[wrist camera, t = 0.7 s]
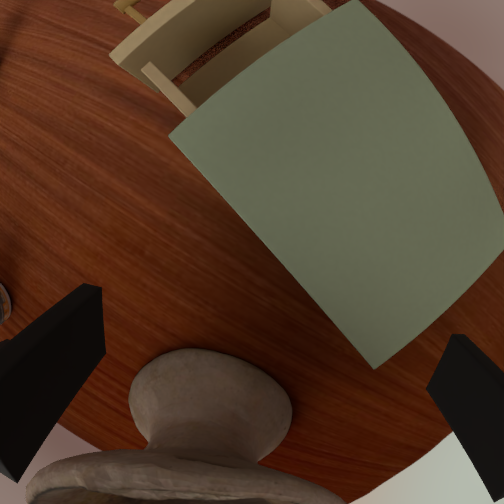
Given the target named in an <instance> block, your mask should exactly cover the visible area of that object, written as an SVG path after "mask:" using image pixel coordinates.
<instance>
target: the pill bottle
mask: <svg viewBox="0 0 504 504" xmlns="http://www.w3.org/2000/svg"><path fill="white" fill-rule="evenodd" d="M10 313H11V302H10V298H9V295H8V293H7V291H6V290H5V288H4V287H3V285H2V284H1V283H0V324H2V323H3V322H4V321H5V320H7V319H8V318H9V316H10Z"/></svg>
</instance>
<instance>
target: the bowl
mask: <svg viewBox="0 0 504 504" xmlns="http://www.w3.org/2000/svg"><path fill="white" fill-rule="evenodd" d="M129 406H130V410H131V414H132V416H133V419H134V421H135V424H136V426H137V428H138V429H139V431H140V432H141V433H142V435H143V436H144V437H145V438H146V439H147V441H148V442H149V443H148V445H147V447H146V448H145V449H144V450H127V449H119V450H110V451H101V452H93V453H87V454H82V455H78V456H73V457H69V458H65V459H62V460H59V461H56V462H53V463H51V464H50V465H48V466H46V467H44V468H43V469H41V470H39V471H38V472H37V473H36V474H35V476H34V477H33V478H32V480H31V481H30V482H29V484H28V485H27V486H26V502H27V504H347V503H346V502H344V501H343V500H342V499H341V498H340V497H338V496H337V495H336V494H334V493H332V492H330V491H329V490H327V489H325V488H323V487H322V486H319V485H317V484H314V483H312V482H310V481H307V480H304V479H301V478H299V477H296V476H293V475H290V474H287V473H284V472H280V471H277V470H274V469H271V468H267V467H264V466H261V465H258V464H257V462H258V461H259V460H261V459H262V458H264V457H265V456H266V455H268V454H269V453H271V452H272V451H273V450H274V449H275V448H276V447H277V446H278V445H279V444H280V443H281V442H282V440H283V439H284V437H285V436H286V434H287V432H288V430H289V427H290V424H291V419H292V406H291V402H290V400H289V397H288V395H287V393H286V392H285V390H284V389H283V388H282V387H281V386H280V385H279V384H278V383H277V382H276V381H275V380H274V379H273V378H272V377H270V376H269V375H268V374H266V373H265V372H264V371H262V370H261V369H259V368H258V367H256V366H254V365H252V364H250V363H248V362H246V361H244V360H241V359H239V358H236V357H233V356H231V355H227V354H222V353H219V352H216V351H213V350H205V349H198V348H186V349H179V350H175V351H171V352H169V353H166V354H163V355H161V356H159V357H157V358H155V359H154V360H152V361H151V362H150V363H148V364H147V365H145V366H144V367H143V368H142V369H141V370H140V371H139V372H138V374H137V375H136V376H135V378H134V381H133V383H132V385H131V389H130V393H129Z"/></svg>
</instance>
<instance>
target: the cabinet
mask: <svg viewBox="0 0 504 504" xmlns="http://www.w3.org/2000/svg"><path fill="white" fill-rule="evenodd" d="M168 137H169V138H170V139H171V140H172V142H173V143H174V144H175V145H176V146H177V147H178V148H179V149H180V150H181V151H182V153H183V154H184V155H185V156H186V157H187V158H188V159H189V160H190V161H191V162H192V163H193V165H194V166H195V167H196V168H197V169H198V170H199V171H200V172H201V173H202V174H203V176H204V177H205V178H206V179H207V180H208V181H209V182H210V183H211V184H212V186H213V187H214V188H215V189H216V190H217V191H218V192H219V193H220V194H221V196H222V197H223V198H224V199H225V200H226V201H227V202H228V203H229V204H230V206H231V207H232V208H233V209H234V210H235V211H236V212H237V213H238V214H239V216H240V217H241V218H242V219H243V220H244V221H245V222H246V223H247V225H248V226H249V227H250V228H251V229H252V230H253V231H254V232H255V234H256V235H257V236H258V237H259V238H260V239H261V240H262V241H263V243H264V244H265V245H266V246H267V247H268V248H269V249H270V250H271V252H272V253H273V254H274V255H275V256H276V257H277V258H278V260H279V261H280V262H281V263H282V264H283V265H284V266H285V267H286V269H287V270H288V271H289V272H290V273H291V274H292V275H293V277H294V278H295V279H296V280H297V281H298V282H299V283H300V285H301V286H302V287H303V288H304V289H305V290H306V291H307V293H308V294H309V295H310V296H311V297H312V298H313V299H314V301H315V302H316V303H317V304H318V305H319V306H320V308H321V309H322V310H323V311H324V312H325V313H326V314H327V316H328V317H329V318H330V319H331V320H332V321H333V323H334V324H335V325H336V326H337V327H338V328H339V330H340V331H341V332H342V333H343V334H344V335H345V336H346V338H347V339H348V340H349V341H350V342H351V343H352V345H353V346H354V347H355V348H356V349H357V350H358V352H359V353H360V354H361V355H362V356H363V357H364V359H365V360H366V361H367V362H368V363H369V365H370V366H371V367H372V368H373V369H376V368H377V367H378V366H380V365H381V364H383V363H384V362H385V361H386V360H388V359H389V358H390V357H392V356H393V355H394V354H396V353H397V352H398V351H399V350H401V349H402V348H403V347H404V346H406V345H407V344H408V343H409V342H410V341H412V340H413V339H414V338H415V337H416V336H418V335H419V334H420V333H421V332H422V331H423V330H425V329H426V328H427V327H428V326H429V325H430V324H431V323H433V322H434V321H435V320H436V319H437V318H438V317H439V316H440V315H441V314H442V313H444V312H445V311H446V310H447V309H448V308H449V307H450V306H451V305H452V304H453V303H454V302H455V301H456V300H457V299H458V298H459V297H460V296H461V295H462V294H463V293H464V292H465V291H466V290H467V289H468V288H469V287H470V286H471V285H472V284H473V283H474V282H475V281H476V280H477V279H478V278H479V277H480V276H481V275H482V273H483V272H484V271H485V270H486V269H487V268H488V267H489V266H490V265H491V263H492V262H493V261H494V260H495V259H496V258H497V257H498V255H499V254H500V253H501V252H502V251H503V250H504V214H503V212H502V209H501V207H500V204H499V202H498V199H497V197H496V195H495V192H494V190H493V188H492V186H491V183H490V181H489V179H488V177H487V175H486V173H485V171H484V169H483V167H482V165H481V163H480V161H479V159H478V157H477V155H476V153H475V151H474V149H473V147H472V145H471V144H470V142H469V140H468V138H467V136H466V135H465V133H464V131H463V130H462V128H461V126H460V125H459V123H458V121H457V120H456V118H455V116H454V115H453V113H452V112H451V110H450V109H449V107H448V105H447V104H446V102H445V101H444V99H443V98H442V97H441V95H440V94H439V92H438V91H437V89H436V88H435V87H434V85H433V84H432V82H431V81H430V80H429V78H428V77H427V76H426V74H425V73H424V72H423V70H422V69H421V68H420V67H419V65H418V64H417V63H416V61H415V60H414V59H413V58H412V57H411V55H410V54H409V53H408V52H407V51H406V49H405V48H404V47H403V46H402V45H401V44H400V42H399V41H398V40H397V39H396V38H395V37H394V36H393V35H392V34H391V32H390V31H389V30H388V29H387V28H386V27H385V26H384V25H383V24H382V23H381V22H380V21H379V20H378V19H377V18H376V17H375V16H374V15H373V14H372V13H371V12H370V11H369V10H368V9H367V8H366V7H365V6H364V5H363V4H362V3H361V2H360V1H359V0H351V1H349V2H347V3H346V4H344V5H342V6H340V7H338V8H337V9H335V10H333V11H331V12H330V13H328V14H326V15H324V16H323V17H321V18H319V19H318V20H316V21H314V22H313V23H311V24H309V25H308V26H306V27H305V28H303V29H302V30H300V31H298V32H297V33H295V34H294V35H292V36H291V37H289V38H288V39H286V40H285V41H283V42H282V43H280V44H279V45H277V46H276V47H275V48H273V49H272V50H270V51H269V52H267V53H266V54H265V55H263V56H262V57H261V58H259V59H258V60H256V61H255V62H254V63H252V64H251V65H250V66H248V67H247V68H246V69H244V70H243V71H242V72H241V73H239V74H238V75H237V76H235V77H234V78H233V79H232V80H230V81H229V82H228V83H227V84H225V85H224V86H223V87H222V88H221V89H219V90H218V91H217V92H216V93H215V94H213V95H212V96H211V97H210V98H209V99H208V100H206V101H205V102H204V103H203V104H202V105H201V106H199V107H198V108H197V109H196V110H195V111H194V112H193V113H192V114H190V115H189V116H188V117H187V118H186V119H185V120H184V121H183V122H182V123H181V124H180V125H178V126H177V127H176V128H175V129H174V130H173V131H172V132H171V133H170V134H169V135H168Z"/></svg>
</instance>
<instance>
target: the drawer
mask: <svg viewBox="0 0 504 504" xmlns="http://www.w3.org/2000/svg"><path fill="white" fill-rule="evenodd" d="M139 1H141V0H117V1H116V2H115V3H114V4H113V5H114V6H115V7H116V8H117V9H118V10H119V11H120V12H121V13H123V14H125V13H127V14H128V15H129V16H131V17H132V18H133V19H134V20H135V21H136V22H138V23H139V24H140V26H139V27H138V28H137V29H136V30H135V31H133V32H132V33H131V34H130V35H129V36H128V37H127V38H126V39H125V40H123V41H122V42H121V43H120V44H119V45H118V46H117V47H116V48H115V49H114V50H113V51H112V52H111V53H110V54H109V56H110V57H111V58H112V59H113V60H114V61H115V62H116V63H117V64H118V65H119V66H120V67H122V68H123V69H125V70H126V71H127V72H129V73H130V74H132V75H133V76H135V77H136V78H137V79H139V80H140V81H142V82H143V83H144V84H146V85H147V86H149V87H150V88H151V89H153V90H154V91H156V92H157V93H158V92H159V91H160V90H161V91H162V93H163V94H164V95H165V96H166V97H167V98H168V99H169V100H170V101H171V102H172V103H173V104H174V105H175V106H176V107H177V108H178V109H179V110H180V111H181V112H182V113H183V114H184V115H185V116H186V117H188V116H189V115H190V114H192V113H193V112H194V111H195V110H196V109H197V108H198V107H199V106H201V105H202V104H203V103H204V102H205V101H206V100H208V99H209V98H210V97H211V96H212V95H213V94H215V93H216V92H217V91H218V90H219V89H221V88H222V87H223V86H224V85H225V84H227V83H228V82H229V81H230V80H232V79H233V78H234V77H235V76H237V75H238V74H239V73H241V72H242V71H243V70H244V69H246V68H247V67H248V66H250V65H251V64H252V63H254V62H255V61H256V60H258V59H259V58H261V57H262V56H263V55H265V54H266V53H267V52H269V51H270V50H272V49H273V48H275V47H276V46H277V45H279V44H280V43H282V42H283V41H285V40H286V39H288V38H289V37H291V36H292V35H294V34H295V33H297V32H298V31H300V30H302V29H303V28H305V27H306V26H308V25H309V24H311V23H313V22H314V21H316V20H318V19H319V18H321V17H323V16H324V15H326V14H328V13H330V12H331V11H333V10H332V9H331V8H330V7H329V6H327V5H326V4H325V3H324V2H323V1H322V0H172V1H170V2H169V3H168V4H166V5H165V6H164V7H162V8H161V9H160V10H159V11H157V12H156V13H155V14H154V15H152V16H151V17H150V18H149V19H146V18H145V17H144V16H143V15H141V14H140V13H139V12H138V11H137V10H135V9H134V8H133V6H134V5H136V4H137V3H138V2H139ZM270 6H271V11H270V18H268V19H267V20H265V21H264V22H262V23H261V24H259V25H258V26H256V27H255V28H253V29H252V30H250V31H249V32H247V33H246V34H244V35H243V36H242V37H240V38H239V39H237V40H236V41H235V42H233V43H232V44H231V45H229V46H228V47H227V48H225V49H224V50H223V51H221V52H220V53H219V54H217V55H216V56H215V57H213V58H212V59H211V60H210V61H208V62H207V63H206V64H205V65H203V66H202V67H201V68H200V69H199V70H197V71H196V72H195V73H194V74H193V75H191V76H190V77H189V78H188V79H187V80H186V81H184V82H183V83H182V84H181V85H180V86H179V87H177V86H176V85H175V84H174V83H173V82H172V81H171V80H172V79H173V78H175V77H176V76H177V75H178V74H179V73H180V72H181V71H183V70H184V69H185V68H186V67H187V66H189V65H190V64H191V63H192V62H193V61H195V60H196V59H197V58H198V57H200V56H201V55H202V54H203V53H205V52H206V51H207V50H208V49H210V48H211V47H212V46H214V45H215V44H216V43H217V42H219V41H220V40H222V39H223V38H224V37H226V36H227V35H228V34H230V33H231V32H233V31H234V30H235V29H237V28H238V27H240V26H241V25H243V24H244V23H246V22H247V21H248V20H250V19H251V18H253V17H255V16H256V15H258V14H259V13H261V12H262V11H264V10H266V9H267V8H269V7H270Z"/></svg>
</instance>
